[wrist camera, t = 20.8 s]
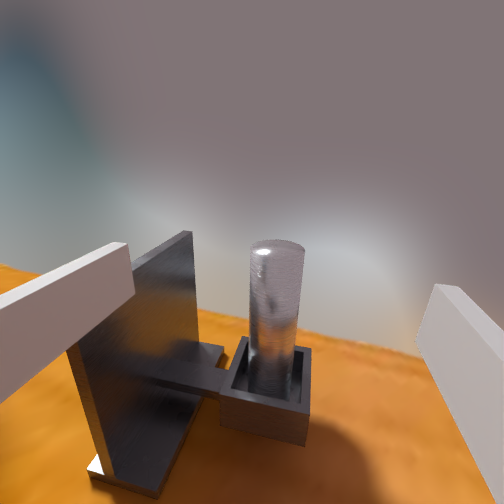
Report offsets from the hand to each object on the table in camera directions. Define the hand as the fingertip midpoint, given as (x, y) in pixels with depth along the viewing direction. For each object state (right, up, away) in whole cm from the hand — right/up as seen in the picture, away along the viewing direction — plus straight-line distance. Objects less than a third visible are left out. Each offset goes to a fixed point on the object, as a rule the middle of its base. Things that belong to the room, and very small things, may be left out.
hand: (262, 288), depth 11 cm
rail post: (+1, -13, +16) cm, 20 cm away
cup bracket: (-4, -17, +19) cm, 26 cm away
